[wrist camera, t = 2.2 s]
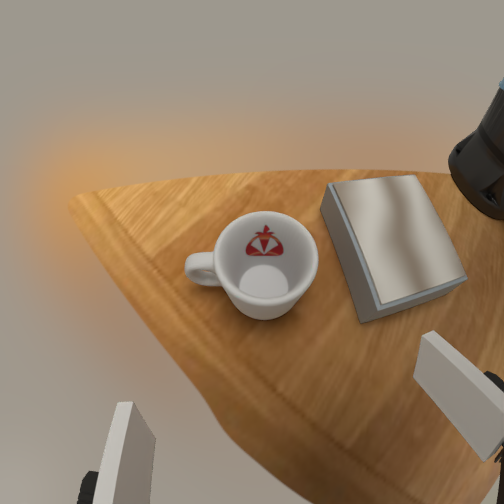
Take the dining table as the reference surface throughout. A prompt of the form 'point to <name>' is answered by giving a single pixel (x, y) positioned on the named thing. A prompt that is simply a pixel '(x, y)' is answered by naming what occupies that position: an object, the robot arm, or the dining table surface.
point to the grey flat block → (390, 244)
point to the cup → (259, 263)
